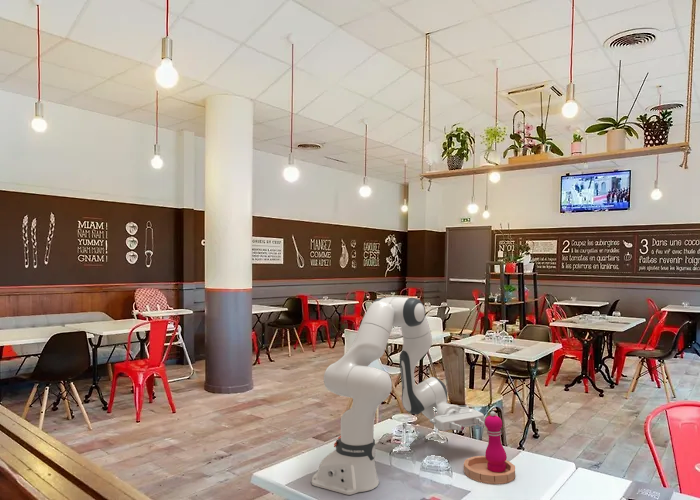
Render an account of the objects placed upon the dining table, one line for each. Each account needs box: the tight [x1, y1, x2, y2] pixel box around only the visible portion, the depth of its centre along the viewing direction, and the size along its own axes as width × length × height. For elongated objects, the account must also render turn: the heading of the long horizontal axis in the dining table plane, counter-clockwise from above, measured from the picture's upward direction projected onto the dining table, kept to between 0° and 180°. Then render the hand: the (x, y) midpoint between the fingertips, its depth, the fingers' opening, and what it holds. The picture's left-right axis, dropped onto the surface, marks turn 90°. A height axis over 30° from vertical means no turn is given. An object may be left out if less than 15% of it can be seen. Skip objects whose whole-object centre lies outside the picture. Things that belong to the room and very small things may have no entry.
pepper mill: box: [484, 410, 508, 472], centre depth 172 cm, size 7×7×20 cm
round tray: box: [463, 455, 516, 485], centre depth 170 cm, size 17×17×3 cm
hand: (472, 426), depth 178 cm, fingers open, 8 cm apart
